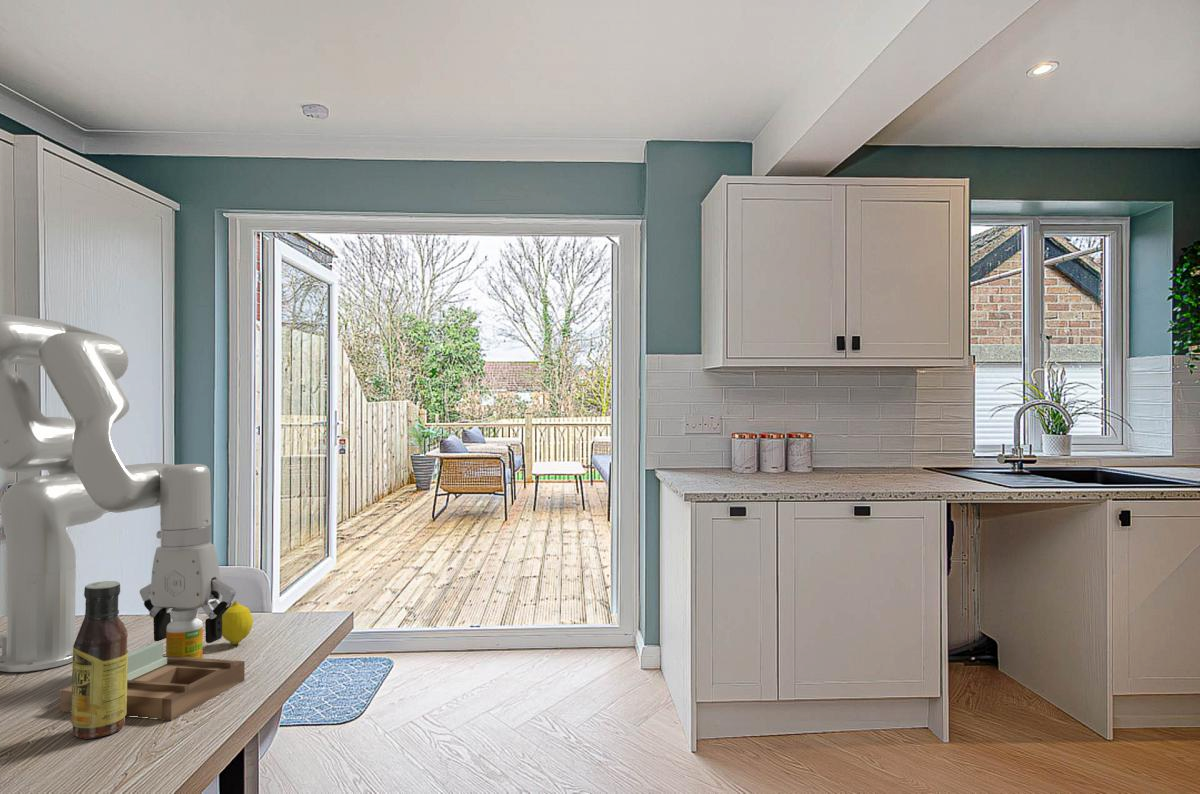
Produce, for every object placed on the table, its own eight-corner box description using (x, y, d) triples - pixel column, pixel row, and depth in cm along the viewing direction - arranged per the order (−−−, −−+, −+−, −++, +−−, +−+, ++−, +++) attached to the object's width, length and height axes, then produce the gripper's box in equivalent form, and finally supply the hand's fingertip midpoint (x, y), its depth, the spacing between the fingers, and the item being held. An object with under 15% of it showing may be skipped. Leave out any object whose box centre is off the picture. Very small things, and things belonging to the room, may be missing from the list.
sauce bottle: (66, 731, 103) (68, 583, 103) (120, 717, 107) (121, 575, 107) (77, 746, 98) (78, 591, 98) (132, 732, 103) (133, 583, 103)
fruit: (230, 651, 136) (231, 606, 136) (212, 646, 139) (212, 602, 139) (258, 643, 141) (259, 599, 141) (240, 638, 144) (241, 595, 144)
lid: (75, 679, 113) (75, 655, 113) (120, 660, 122) (120, 638, 122) (124, 682, 112) (125, 658, 112) (167, 663, 120) (167, 641, 120)
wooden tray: (60, 711, 109) (60, 684, 109) (145, 672, 125) (145, 649, 125) (171, 720, 106) (171, 693, 106) (244, 680, 122) (244, 656, 122)
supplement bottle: (186, 673, 125) (187, 613, 125) (158, 670, 126) (158, 611, 126) (209, 662, 130) (210, 605, 131) (182, 660, 132) (182, 603, 132)
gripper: (123, 541, 126) (125, 645, 126) (217, 542, 123) (219, 648, 123) (157, 533, 134) (159, 631, 134) (246, 534, 131) (248, 634, 131)
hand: (188, 639), depth 128 cm, fingers open, 9 cm apart
